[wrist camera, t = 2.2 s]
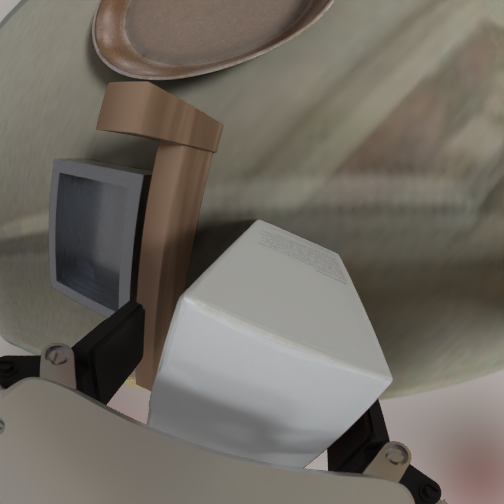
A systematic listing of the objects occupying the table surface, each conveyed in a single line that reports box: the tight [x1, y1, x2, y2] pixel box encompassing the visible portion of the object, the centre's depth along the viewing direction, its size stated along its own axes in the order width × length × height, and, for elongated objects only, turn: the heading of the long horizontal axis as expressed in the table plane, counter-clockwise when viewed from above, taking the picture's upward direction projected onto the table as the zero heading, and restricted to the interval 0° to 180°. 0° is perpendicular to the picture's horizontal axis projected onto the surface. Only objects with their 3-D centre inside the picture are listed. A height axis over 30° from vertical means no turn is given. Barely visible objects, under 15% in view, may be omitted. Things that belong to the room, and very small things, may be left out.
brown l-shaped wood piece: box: [96, 81, 223, 391], centre depth 16 cm, size 3×20×10 cm, turn 165°
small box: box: [147, 219, 393, 468], centre depth 13 cm, size 8×6×13 cm
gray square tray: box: [49, 159, 153, 318], centre depth 19 cm, size 10×12×4 cm
